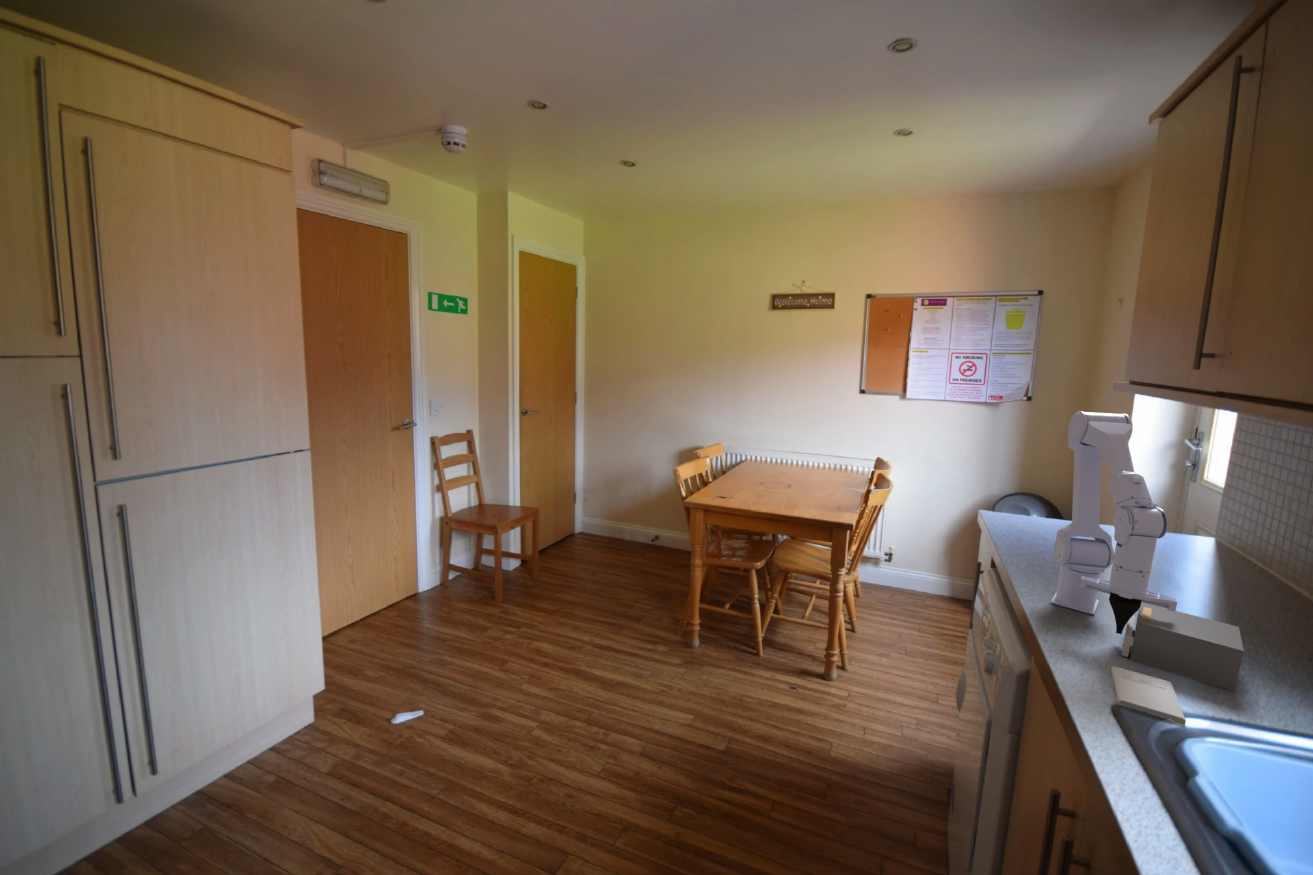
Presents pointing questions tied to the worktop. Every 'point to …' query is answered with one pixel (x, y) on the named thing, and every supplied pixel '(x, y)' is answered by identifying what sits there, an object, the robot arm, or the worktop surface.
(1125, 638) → the tray
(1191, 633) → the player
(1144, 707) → the external hard drive
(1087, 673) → the worktop surface
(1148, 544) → the robot arm
